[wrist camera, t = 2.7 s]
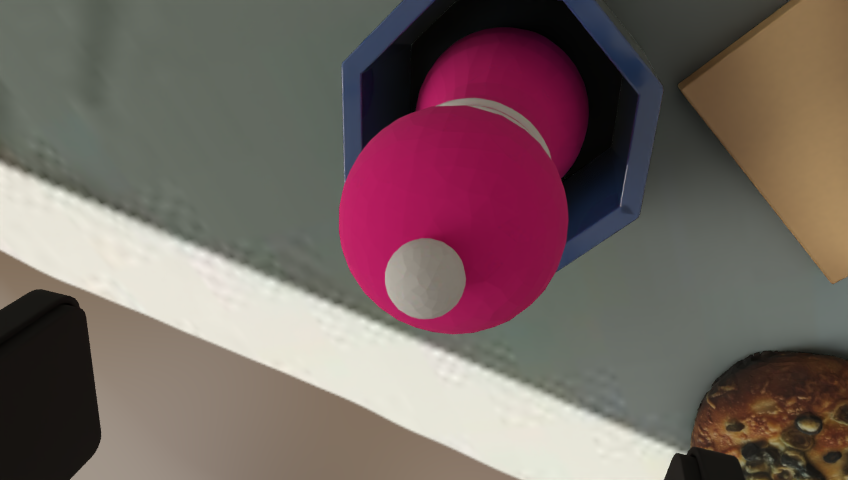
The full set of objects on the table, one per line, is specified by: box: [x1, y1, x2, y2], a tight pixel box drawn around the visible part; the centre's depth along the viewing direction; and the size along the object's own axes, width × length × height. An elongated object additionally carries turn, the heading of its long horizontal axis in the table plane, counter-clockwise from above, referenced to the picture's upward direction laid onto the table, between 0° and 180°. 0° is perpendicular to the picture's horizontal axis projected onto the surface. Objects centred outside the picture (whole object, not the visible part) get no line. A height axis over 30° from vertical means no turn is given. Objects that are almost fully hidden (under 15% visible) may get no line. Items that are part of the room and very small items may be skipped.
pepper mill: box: [339, 27, 589, 334], centre depth 22 cm, size 7×7×20 cm
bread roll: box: [690, 351, 848, 480], centre depth 33 cm, size 11×11×5 cm
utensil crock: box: [341, 0, 664, 273], centre depth 27 cm, size 12×12×8 cm
